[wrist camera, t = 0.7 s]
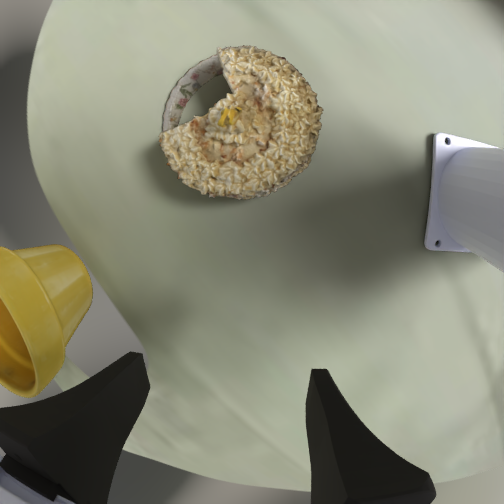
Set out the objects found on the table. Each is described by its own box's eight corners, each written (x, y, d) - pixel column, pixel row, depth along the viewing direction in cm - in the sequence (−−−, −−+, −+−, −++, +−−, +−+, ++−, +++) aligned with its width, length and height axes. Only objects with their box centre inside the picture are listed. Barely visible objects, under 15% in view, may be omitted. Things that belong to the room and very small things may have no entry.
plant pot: (11, 253, 22) (-61, 293, 13) (68, 197, 20) (-29, 229, 11) (65, 343, 25) (8, 404, 15) (134, 311, 22) (68, 391, 13)
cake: (346, 98, 17) (375, 85, 12) (271, 226, 20) (275, 257, 15) (209, 30, 15) (192, -3, 10) (140, 160, 19) (102, 169, 14)
